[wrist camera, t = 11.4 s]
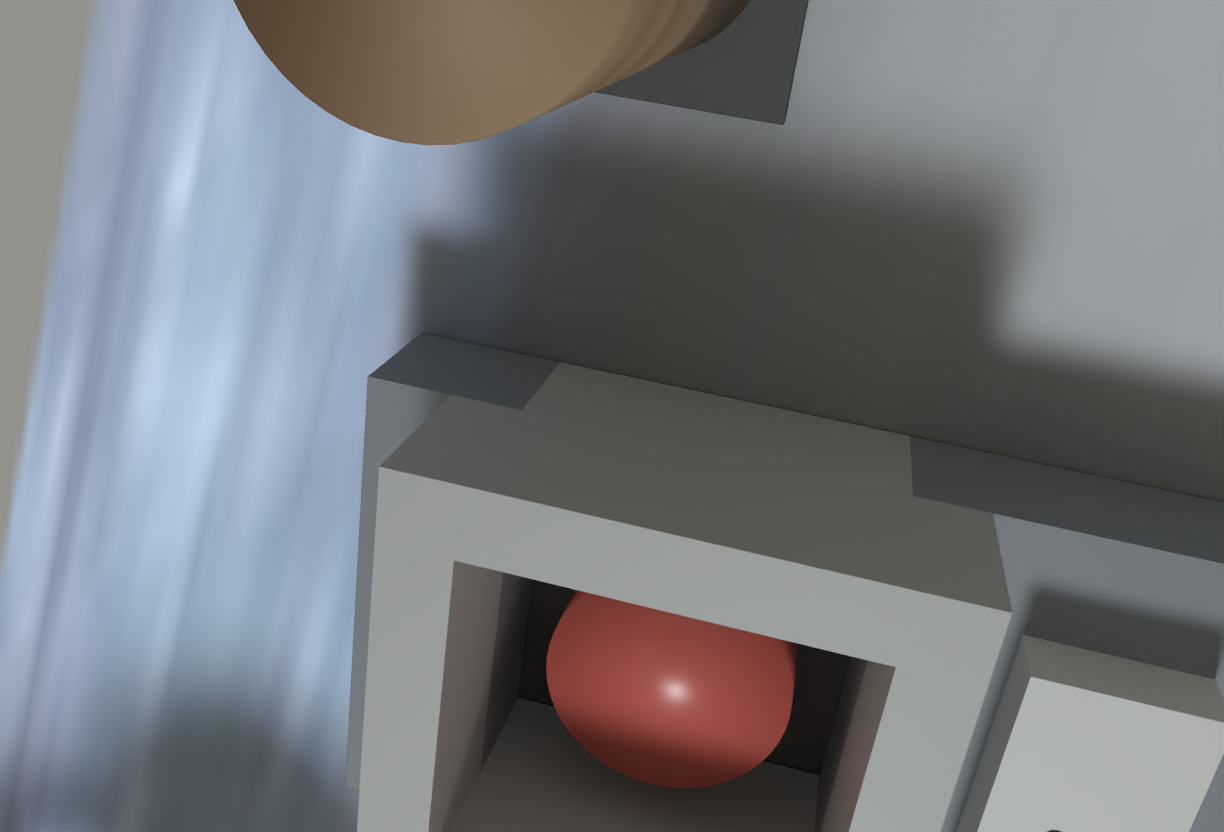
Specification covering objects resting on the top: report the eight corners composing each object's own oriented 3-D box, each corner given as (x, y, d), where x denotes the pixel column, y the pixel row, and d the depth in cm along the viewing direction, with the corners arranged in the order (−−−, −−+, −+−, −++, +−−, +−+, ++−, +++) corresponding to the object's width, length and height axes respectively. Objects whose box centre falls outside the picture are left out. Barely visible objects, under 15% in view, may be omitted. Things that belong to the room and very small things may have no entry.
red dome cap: (823, 541, 21) (816, 610, 19) (777, 730, 23) (765, 814, 21) (595, 489, 22) (561, 550, 19) (567, 676, 24) (533, 752, 21)
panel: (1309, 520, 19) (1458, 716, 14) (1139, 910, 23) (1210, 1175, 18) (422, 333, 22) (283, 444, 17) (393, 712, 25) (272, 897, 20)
